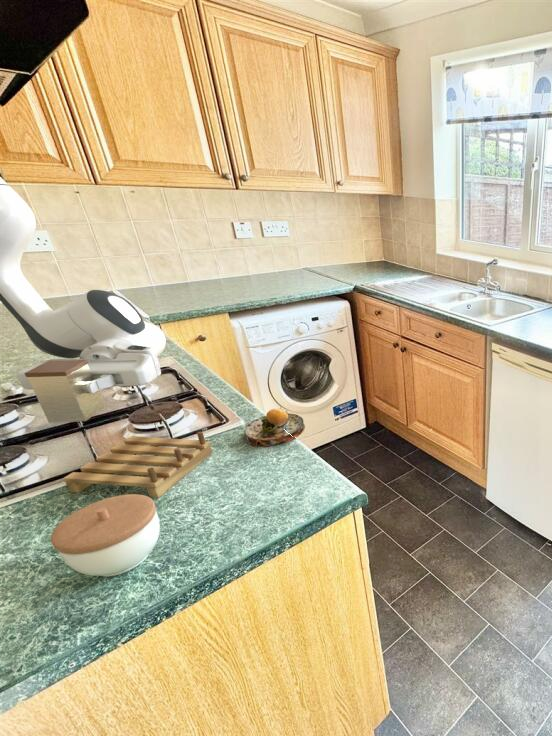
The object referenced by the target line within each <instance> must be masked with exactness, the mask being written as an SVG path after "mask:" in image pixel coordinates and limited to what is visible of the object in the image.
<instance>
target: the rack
mask: <svg viewBox="0 0 552 736" xmlns="http://www.w3.org/2000/svg"><path fill="white" fill-rule="evenodd" d="M196 435H197V438H198V439H183V438H171V437H170V438H168V437H152V436H137V435H136V436H135V435H130V436H128V437H127V438H126V439H124V440H123V442H124V444H122V443H118V444H116V445H114V446H113V447H111V448H110V449H109V450H110V452H103V453H102V454H100V455H97V457H95V460H96V462H92V461H89V462H87V463H84V465H82V466H81V467H79V469H80V471H81V472H78V471H77V472H76V471H72V472H71V473H69V474H67V475H66V476H64V477H63V481H64V482H65V485H66V486H67V489H68V490H69V493H75V494H80V493H82V492H83V491H85V490H86V489H87V488H89V487H90V486H92V485H93V484H94V485H109V486H123V487H124V486H125V487H140V488H146V489H145V490H146V491H147V493H148V497H149V498H151V499H152V498H153V499H154V498H155V499H159V498H161V497H162V496H163V495H164V494H165V493H167V492H168V491H169V490H170V489H171V488H173V486H175V485H176V484H177V483H179V482H180V481H181V480H182V479H184V477H186V476H187V475H188V474H189V473H190V472H192V471H193V470H195V468H196V467H198V466H199V465H200V464H201V463H203V462H204V461H205V460H206V459H207V458H208V457H210V456H211V455H212V454H213V450H212V446H211V441H210V440H206V439H205V437H204V436H205V435H204V432H203V431H198V432H196ZM134 454H136V455H134ZM121 463H123V464H121Z"/></svg>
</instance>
